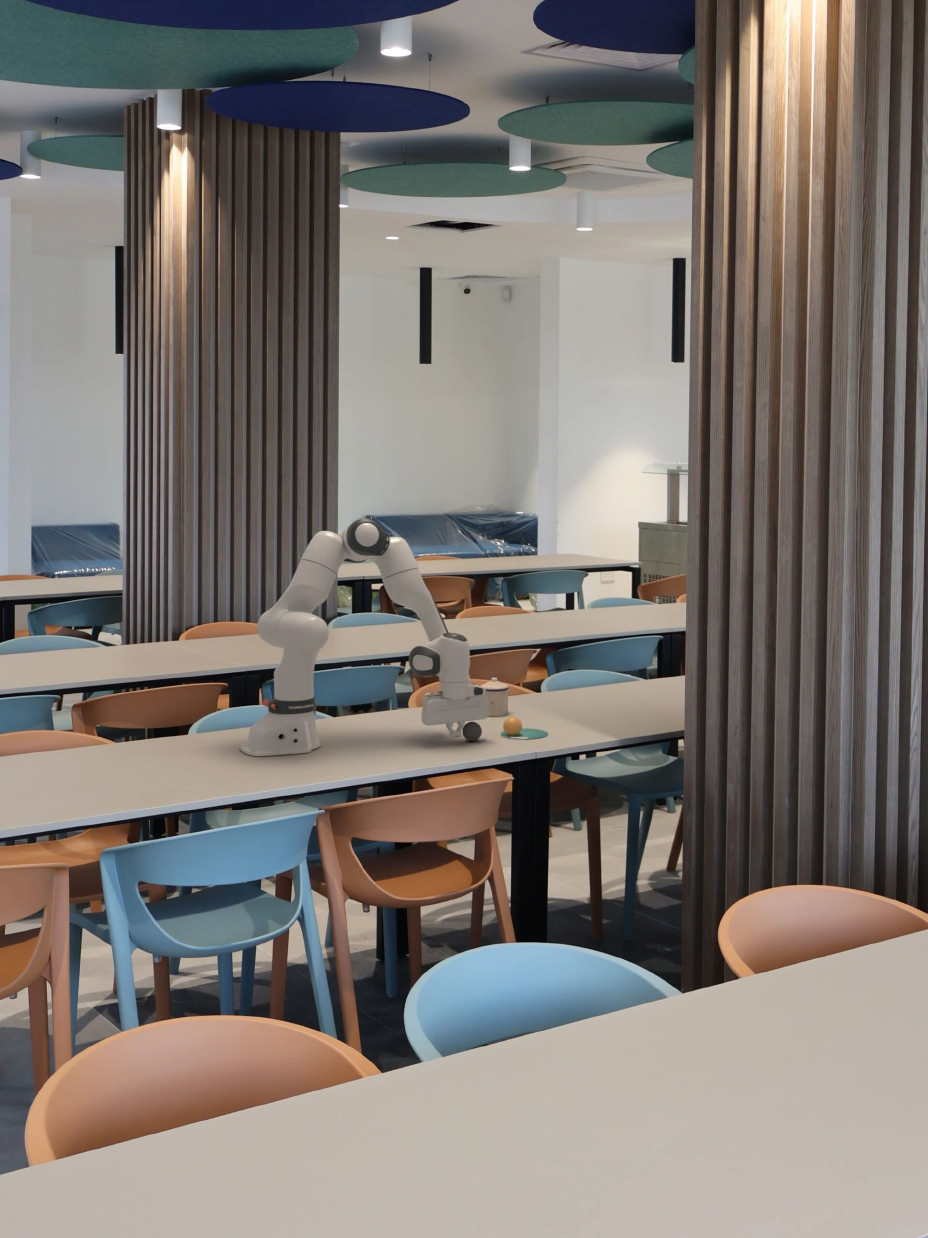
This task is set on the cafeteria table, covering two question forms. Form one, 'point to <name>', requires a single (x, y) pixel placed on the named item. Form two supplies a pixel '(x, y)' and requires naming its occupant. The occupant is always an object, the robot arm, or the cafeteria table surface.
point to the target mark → (528, 733)
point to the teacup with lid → (496, 697)
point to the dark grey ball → (472, 731)
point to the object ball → (512, 726)
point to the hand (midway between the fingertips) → (455, 737)
